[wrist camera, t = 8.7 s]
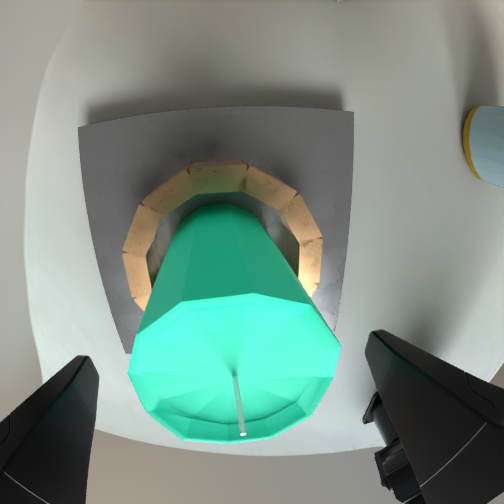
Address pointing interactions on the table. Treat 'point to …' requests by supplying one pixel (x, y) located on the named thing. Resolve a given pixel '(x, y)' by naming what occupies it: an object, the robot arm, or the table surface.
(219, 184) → the square plate with hole
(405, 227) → the table surface
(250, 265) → the candle
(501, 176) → the bottle
